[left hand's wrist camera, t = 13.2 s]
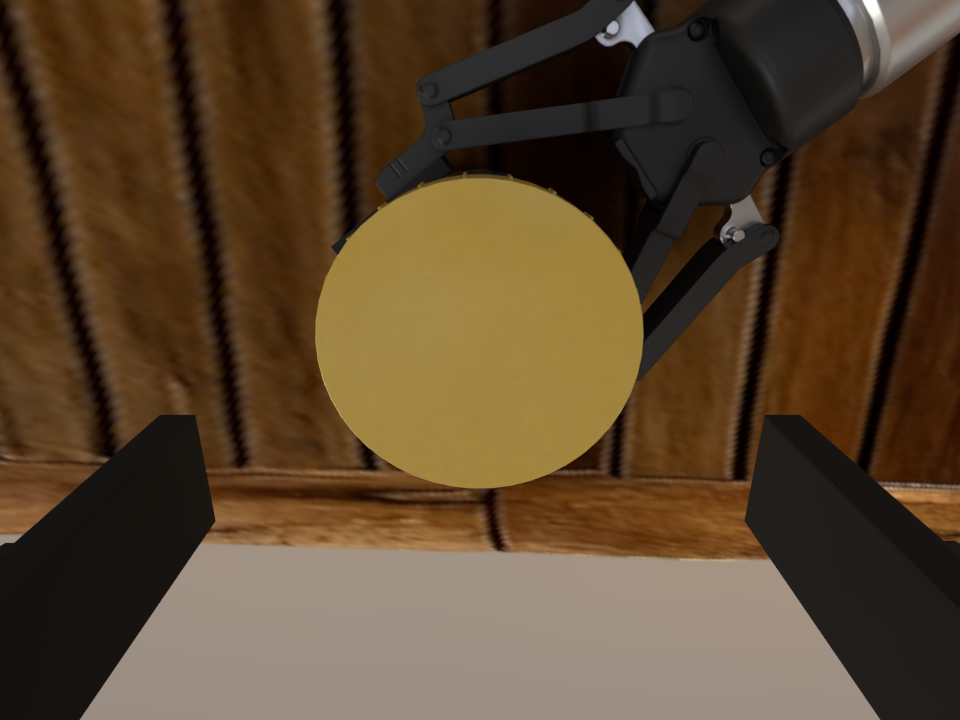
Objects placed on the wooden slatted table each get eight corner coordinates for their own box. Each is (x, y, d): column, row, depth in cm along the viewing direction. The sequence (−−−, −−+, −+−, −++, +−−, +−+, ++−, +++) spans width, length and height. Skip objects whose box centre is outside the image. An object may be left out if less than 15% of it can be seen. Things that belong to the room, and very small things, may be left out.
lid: (682, 232, 21) (700, 241, 19) (567, 493, 25) (574, 521, 23) (368, 126, 20) (357, 125, 18) (299, 419, 23) (284, 443, 22)
